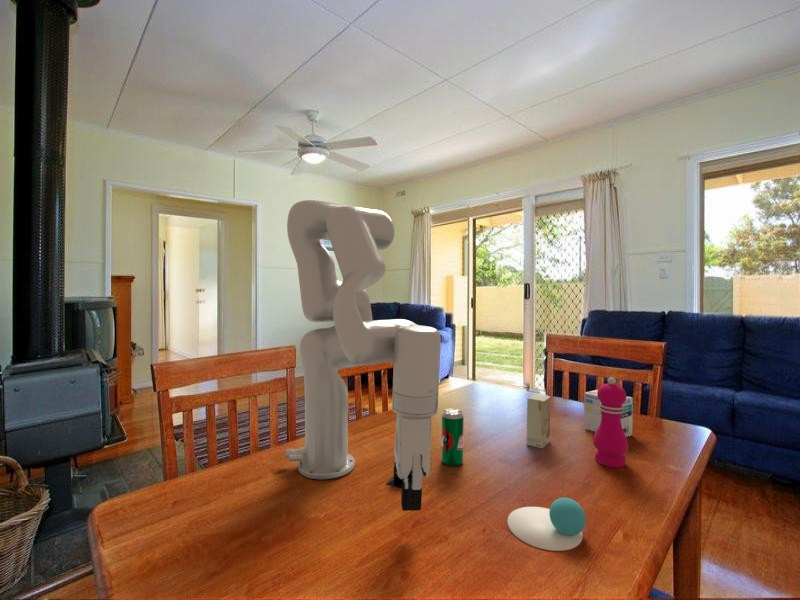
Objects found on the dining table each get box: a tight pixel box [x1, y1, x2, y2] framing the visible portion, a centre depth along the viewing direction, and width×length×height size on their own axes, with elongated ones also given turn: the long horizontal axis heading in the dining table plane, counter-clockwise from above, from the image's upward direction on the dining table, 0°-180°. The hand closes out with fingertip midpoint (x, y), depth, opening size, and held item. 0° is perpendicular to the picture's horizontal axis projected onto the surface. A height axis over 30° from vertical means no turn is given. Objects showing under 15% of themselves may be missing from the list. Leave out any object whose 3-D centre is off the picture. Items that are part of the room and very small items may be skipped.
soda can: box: [441, 408, 465, 467], centre depth 92 cm, size 5×5×12 cm
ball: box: [549, 497, 587, 536], centre depth 66 cm, size 6×6×6 cm
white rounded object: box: [506, 506, 583, 552], centre depth 68 cm, size 12×12×1 cm
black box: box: [385, 461, 404, 490], centre depth 85 cm, size 12×7×5 cm, turn 155°
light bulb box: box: [583, 389, 634, 438], centre depth 112 cm, size 11×7×11 cm, turn 34°
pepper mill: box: [592, 376, 629, 469], centre depth 93 cm, size 7×7×20 cm
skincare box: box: [526, 393, 552, 449], centre depth 104 cm, size 6×4×12 cm
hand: (410, 507), depth 67 cm, fingers closed
